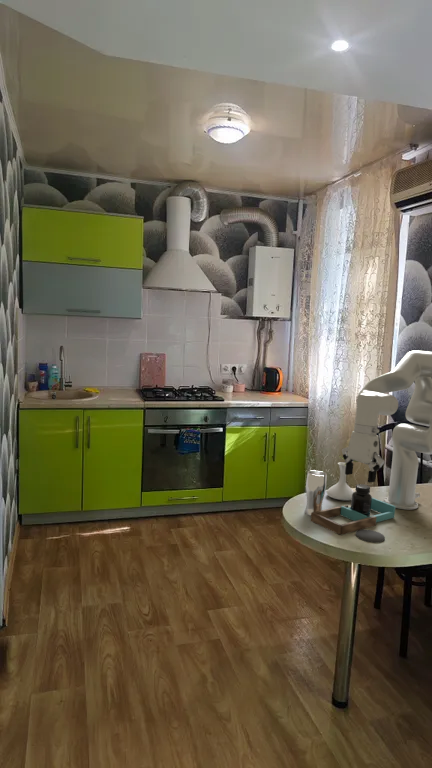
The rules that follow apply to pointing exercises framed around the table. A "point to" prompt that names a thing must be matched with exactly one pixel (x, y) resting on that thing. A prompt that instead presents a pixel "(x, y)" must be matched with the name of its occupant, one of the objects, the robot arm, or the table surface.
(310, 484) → the beer glass
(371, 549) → the table surface
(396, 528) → the table surface
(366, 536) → the coaster
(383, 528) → the table surface
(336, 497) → the flower in vase
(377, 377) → the robot arm
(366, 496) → the supplement bottle
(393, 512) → the teal drawer
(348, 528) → the walnut cubby
